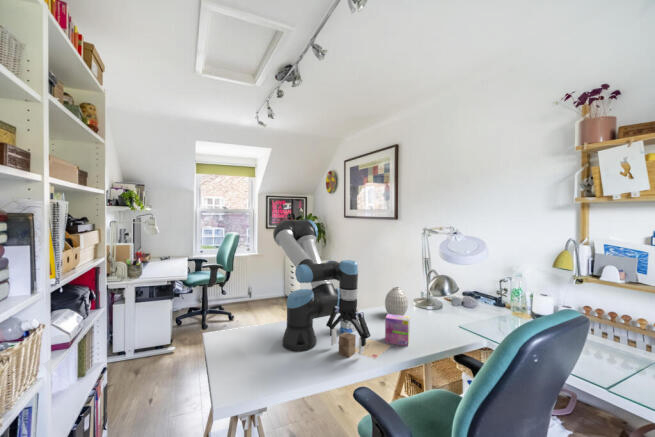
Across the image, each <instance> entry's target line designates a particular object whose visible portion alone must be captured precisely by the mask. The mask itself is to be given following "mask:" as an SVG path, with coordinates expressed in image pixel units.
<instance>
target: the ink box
mask: <svg viewBox="0 0 655 437" xmlns="http://www.w3.org/2000/svg"><path fill="white" fill-rule="evenodd" d="M356 310H357V312H358V313H360V308H359V307H358V306H357V309H356ZM356 317H357V316H356ZM357 319H358V318H357ZM358 321H359V319H358ZM339 323H340V324H339V325H340V327H339V328H340V329H339V331H340V332H341V334H343V333H345V332H347V333H350V334H353V333H354V332H357V330H356V328H355V327H354V325H353V324H352V323H351V321H350V322H349V321H347V320H343V319H342V320H341V321H340V322H339Z"/></svg>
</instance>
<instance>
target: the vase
mask: <svg viewBox="0 0 655 437" xmlns="http://www.w3.org/2000/svg"><path fill="white" fill-rule="evenodd" d="M384 307H385V311H386V312H387V314H392V315H400V316H405V314H406V313H407V311H408V307H409V301H408V298H407V295H406V294H405V292H404V291H403V289H401V287H400V286H393V287H392V289H390V290H389V291H388V293H386V296H385V299H384Z"/></svg>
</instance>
